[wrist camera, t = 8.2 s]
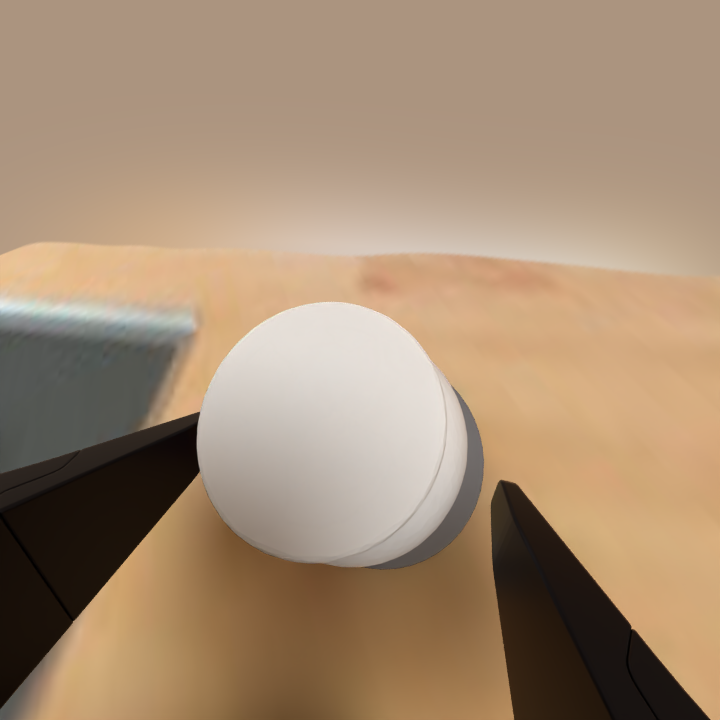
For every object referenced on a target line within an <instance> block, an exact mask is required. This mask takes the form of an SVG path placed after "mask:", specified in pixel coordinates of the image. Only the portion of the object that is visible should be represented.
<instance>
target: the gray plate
mask: <svg viewBox="0 0 720 720" xmlns="http://www.w3.org/2000/svg"><path fill="white" fill-rule="evenodd" d="M451 387H452V385H451ZM452 389H453V390H454V392H455V394H456V396H457V398H458V401H459V404H460V406H461V409H462V412H463V416H464V420H465V425H466V431H467V446H468V448H467V464H466V470H465V474H464V478H463V481H462V485H461V487H460V490H459V493H458V495H457V497H456V500H455V502H454V504H453V505H452V507H451V509H450V510H449V512H448V514H447V515H446V517H445V518H444V520H443V521H442V523H441V524H440V525H439V526H438V528H437V529H436V530H435V531H434V532H433V533H432V534H431V535H430V536H429V537H428V538H427V539H425V540H424V541H423V542H422V543H421V544H420V545H418V546H417V547H415V548H414V549H412V550H411V551H409V552H408V553H406V554H404V555H402V556H400V557H398V558H395V559H393V560H390V561H387V562H384V563H381V564H377V565H372V566H366V567H365V568H372V569H397V568H402V567H407V566H411V565H414V564H417V563H419V562H422V561H425V560H426V559H428V558H430V557H432V556H433V555H435V554H437V553H439V552H440V551H441V550H442V549H444V548H445V547H446V546H447V545H449V544H450V543H451V542H452V541H453V540H454V539H455V538H456V536H457V535H458V534H459V533H460V532H461V531H462V529H463V528H464V526H465V525H466V523H467V522H468V520H469V519H470V517H471V515H472V513H473V511H474V508H475V506H476V504H477V501H478V498H479V494H480V491H481V486H482V480H483V468H484V458H483V447H482V443H481V438H480V434H479V430H478V428H477V425H476V422H475V419H474V417H473V415H472V413H471V412H470V410H469V408H468V406H467V404H466V403H465V402H464V400H463V399H462V397H461V396H460V395H459V393H458V392H457V391H456V390H455V389H454V388H453V387H452Z"/></svg>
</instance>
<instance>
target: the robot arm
mask: <svg viewBox="0 0 720 720" xmlns="http://www.w3.org/2000/svg"><path fill="white" fill-rule="evenodd" d="M199 416H200V412H197V413H194V414H191V415H188V416H185V417H182V418H179V419H175V420H172V421H169V422H166V423H163V424H160V425H157V426H154V427H150V428H147V429H144V430H141V431H138V432H135V433H132V434H128V435H125V436H122V437H119V438H116V439H113V440H110V441H106V442H103V443H100V444H97V445H94V446H91V447H88V448H85V449H83V450H78V451H75V452H72V453H69V454H66V455H62V456H59V457H56V458H53V459H49V460H46V461H43V462H40V463H36V464H33V465H29V466H26V467H22V468H19V469H15V470H12V471H8V472H4V473H1V474H0V709H1V708H2V706H3V705H4V704H5V703H6V702H7V701H8V699H9V698H10V697H11V696H12V695H13V693H14V692H15V691H16V690H17V689H18V687H19V686H20V685H21V684H22V683H23V682H24V680H25V679H26V678H27V677H28V676H29V674H30V673H31V672H32V671H33V670H34V668H35V667H36V666H37V665H38V664H39V663H40V661H41V660H42V659H43V658H44V657H45V655H46V654H47V653H48V652H49V651H50V649H51V648H52V647H53V646H54V645H55V644H56V642H57V641H58V640H59V639H60V638H61V636H62V635H63V634H64V633H65V632H66V631H67V629H68V628H69V627H70V626H71V625H72V623H73V621H74V620H76V618H77V617H78V616H79V615H80V614H81V612H82V611H83V610H84V609H85V608H86V606H87V605H88V604H89V603H90V602H91V601H92V599H93V598H94V597H95V596H96V595H97V593H98V592H99V591H100V590H101V589H102V588H103V586H104V585H105V584H106V583H107V582H108V580H109V579H110V578H111V577H112V576H113V574H114V573H115V572H116V571H117V570H118V569H119V567H120V566H121V565H122V564H123V563H124V561H125V560H126V559H127V558H128V557H129V555H130V554H131V553H132V552H133V551H134V550H135V548H136V547H137V546H138V545H139V544H140V542H141V541H142V540H143V539H144V538H145V537H146V535H147V534H148V533H149V532H150V531H151V529H152V528H153V527H154V526H155V525H156V523H157V522H158V521H159V520H160V519H161V518H162V516H163V515H164V514H165V513H166V512H167V510H168V509H169V508H170V507H171V506H172V504H173V503H174V502H175V501H176V500H177V499H178V497H179V496H180V495H181V494H182V493H183V491H184V490H185V489H186V488H187V487H188V486H189V484H190V483H191V482H192V481H193V480H194V478H195V477H196V476H197V475H198V473H199V472H200V468H199V463H198V456H197V427H198V421H199ZM491 532H492V561H493V572H494V580H495V587H496V594H497V601H498V608H499V615H500V622H501V630H502V637H503V644H504V651H505V658H506V665H507V672H508V679H509V686H510V693H511V700H512V707H513V714H514V720H710V719H709V717H708V716H707V715H706V714H705V713H704V712H703V711H702V709H701V708H700V707H699V706H698V705H697V704H696V703H695V701H694V700H693V699H692V698H691V697H690V696H689V695H688V693H687V692H686V691H685V690H684V689H683V688H682V686H681V685H680V684H679V683H678V682H677V680H676V679H675V678H674V677H673V676H672V674H671V673H670V672H669V671H668V670H667V668H666V667H665V666H664V665H663V664H662V662H661V661H660V660H659V659H658V658H657V656H656V655H655V654H654V653H653V652H652V650H651V649H650V648H649V647H648V645H647V644H646V643H645V642H644V640H643V639H642V638H641V637H640V635H639V634H638V633H637V632H636V631H635V630H634V629H631V625H630V623H629V622H628V621H627V620H626V618H625V617H624V616H623V615H622V613H621V612H620V611H619V610H618V608H617V607H616V606H615V605H614V604H613V602H612V601H611V600H610V599H609V597H608V596H607V595H606V594H605V592H604V591H603V590H602V589H601V587H600V586H599V585H598V584H597V583H596V581H595V580H594V579H593V578H592V576H591V575H590V574H589V573H588V571H587V570H586V569H585V568H584V566H583V565H582V564H581V563H580V562H579V560H578V559H577V558H576V557H575V555H574V554H573V553H572V552H571V550H570V549H569V548H568V547H567V545H566V544H565V543H564V542H563V541H562V539H561V538H560V537H559V536H558V534H557V533H556V532H555V531H554V529H553V528H552V527H551V526H550V524H549V523H548V522H547V521H546V520H545V518H544V517H543V516H542V515H541V513H540V512H539V511H538V510H537V508H536V507H535V506H534V505H533V503H532V502H531V501H530V500H529V499H528V497H527V496H526V495H525V494H524V492H523V491H522V490H521V489H520V487H519V486H518V485H517V484H515V483H513V482H508V481H504V480H500V481H499V482H498V485H497V487H496V490H495V493H494V496H493V498H492V502H491Z"/></svg>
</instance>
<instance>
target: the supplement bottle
mask: <svg viewBox="0 0 720 720" xmlns="http://www.w3.org/2000/svg"><path fill="white" fill-rule="evenodd" d="M467 448H468V446H467V431H466V425H465V420H464V416H463V412H462V409H461V406H460V404H459V401H458V398H457V396H456V394H455V392H454V390H453V389H452V387H451V385H450V383H449V381H448V380H447V378H446V377H445V376H444V374H443V373H442V371H441V370H440V369H439V368H438V367H437V366H436V365H435V364H434V363H433V362H432V361H431V360H430V358H429V356H428V355H427V353H426V352H425V350H424V349H423V348H422V347H421V345H420V344H419V343H418V341H417V340H416V339H415V338H414V337H413V336H412V335H411V334H410V333H409V332H408V331H407V330H405V329H404V328H403V327H401V326H400V325H399V324H398V323H396V322H395V321H394V320H392V319H391V318H389V317H388V316H386V315H383V314H381V313H379V312H377V311H374V310H372V309H369V308H366V307H363V306H359V305H355V304H351V303H343V302H318V303H312V304H306V305H302V306H298V307H294V308H291V309H288V310H285V311H282V312H280V313H278V314H276V315H274V316H272V317H271V318H269V319H267V320H265V321H264V322H262V323H261V324H259V325H258V326H256V327H255V328H253V329H252V330H251V331H250V332H249V333H248V334H246V335H245V336H244V337H243V338H242V339H241V340H240V341H239V342H238V343H237V344H236V345H235V346H234V347H233V348H232V350H231V351H230V352H229V353H228V355H227V356H226V357H225V358H224V360H223V361H222V363H221V364H220V366H219V368H218V369H217V371H216V373H215V375H214V377H213V379H212V381H211V383H210V385H209V387H208V390H207V392H206V394H205V397H204V400H203V403H202V407H201V411H200V416H199V421H198V427H197V456H198V463H199V468H200V473H201V477H202V480H203V484H204V486H205V489H206V492H207V494H208V497H209V498H210V500H211V502H212V504H213V506H214V507H215V509H216V511H217V512H218V514H219V515H220V517H221V518H222V519H223V521H224V522H225V523H226V524H227V525H228V526H229V528H230V529H231V530H232V531H233V532H234V533H235V534H236V535H238V536H239V537H241V538H242V539H243V540H245V541H246V542H247V543H248V544H250V545H251V546H253V547H255V548H257V549H258V550H260V551H262V552H263V553H265V554H268V555H271V556H274V557H277V558H281V559H284V560H288V561H292V562H300V563H309V564H314V563H324V564H328V565H333V566H339V567H366V566H372V565H377V564H381V563H384V562H387V561H390V560H393V559H395V558H398V557H400V556H402V555H404V554H406V553H408V552H409V551H411V550H412V549H414V548H415V547H417V546H418V545H420V544H421V543H422V542H423V541H424V540H425V539H427V538H428V537H429V536H430V535H431V534H432V533H433V532H434V531H435V530H436V529H437V528H438V526H439V525H440V524H441V523H442V521H443V520H444V518H445V517H446V515H447V514H448V512H449V510H450V509H451V507H452V505H453V504H454V502H455V500H456V497H457V495H458V493H459V490H460V487H461V485H462V481H463V478H464V474H465V470H466V464H467Z"/></svg>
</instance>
